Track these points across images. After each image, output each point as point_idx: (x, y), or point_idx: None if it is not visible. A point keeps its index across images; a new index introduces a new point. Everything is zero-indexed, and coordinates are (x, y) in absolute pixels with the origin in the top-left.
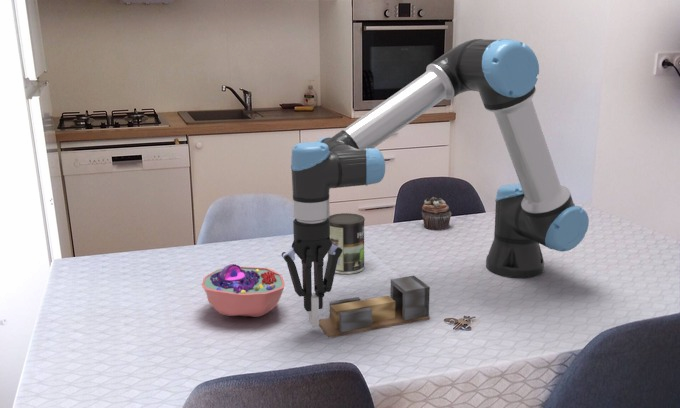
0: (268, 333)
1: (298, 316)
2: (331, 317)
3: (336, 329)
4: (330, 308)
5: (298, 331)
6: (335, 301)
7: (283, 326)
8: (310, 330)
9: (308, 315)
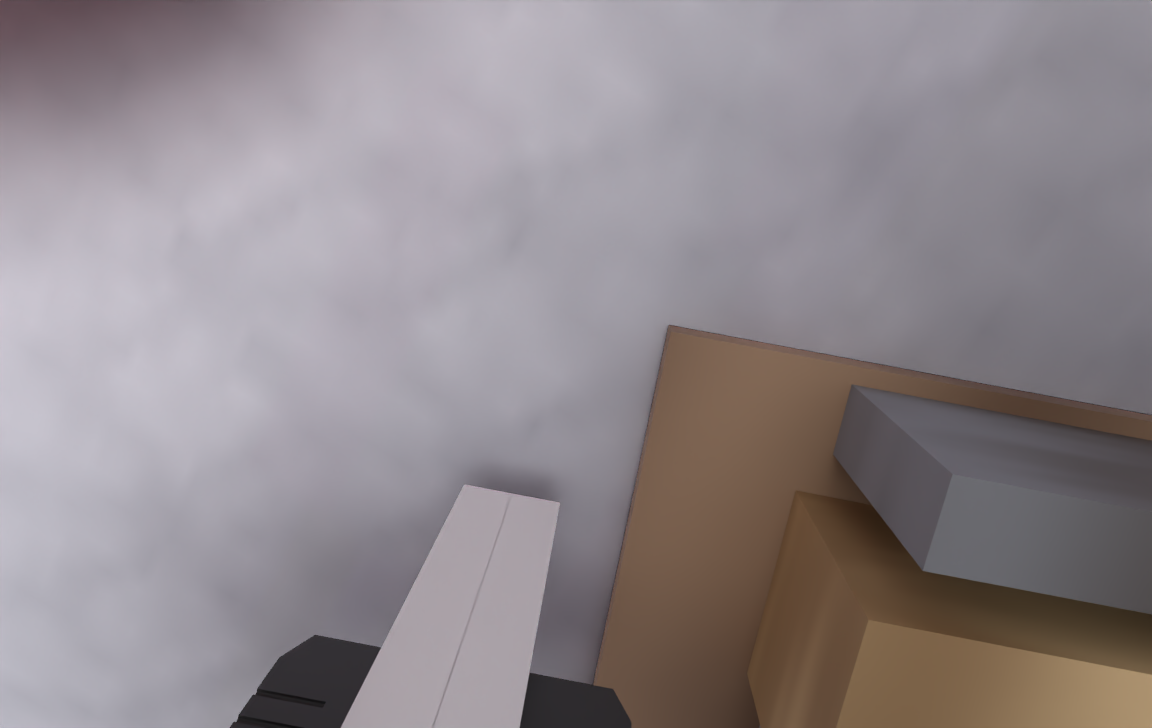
0: (8, 261)
1: (551, 6)
2: (805, 556)
3: (738, 686)
4: (895, 485)
5: (355, 414)
6: (1058, 524)
7: (242, 186)
8: (494, 470)
9: (445, 524)
